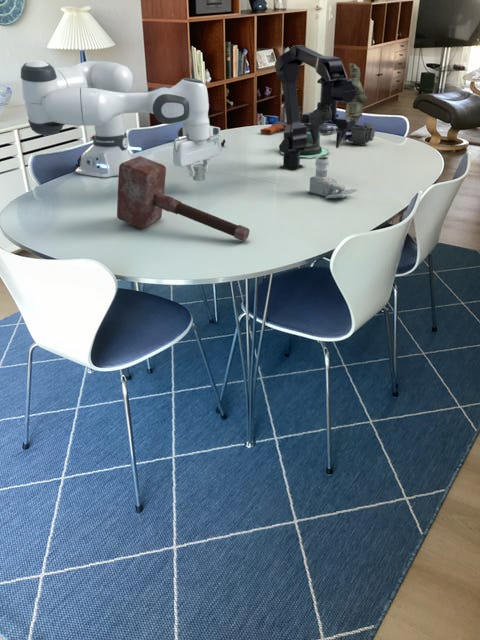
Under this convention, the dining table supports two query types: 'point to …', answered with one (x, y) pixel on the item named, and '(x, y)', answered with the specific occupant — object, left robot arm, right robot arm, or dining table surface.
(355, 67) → the statue
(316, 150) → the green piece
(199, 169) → the can
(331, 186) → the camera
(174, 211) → the sledgehammer
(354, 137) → the toy
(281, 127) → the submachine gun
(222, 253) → the dining table surface
